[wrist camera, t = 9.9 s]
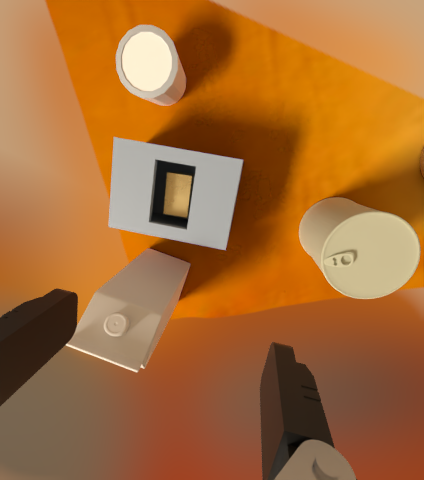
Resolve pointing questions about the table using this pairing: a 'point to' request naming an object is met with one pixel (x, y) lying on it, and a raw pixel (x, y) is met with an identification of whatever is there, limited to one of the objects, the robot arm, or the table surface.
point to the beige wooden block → (178, 193)
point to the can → (359, 247)
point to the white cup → (150, 65)
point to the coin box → (154, 185)
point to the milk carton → (132, 310)
